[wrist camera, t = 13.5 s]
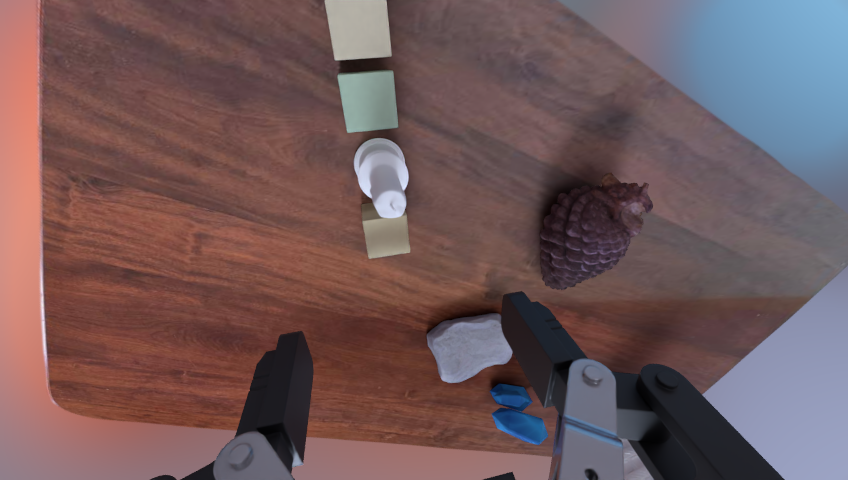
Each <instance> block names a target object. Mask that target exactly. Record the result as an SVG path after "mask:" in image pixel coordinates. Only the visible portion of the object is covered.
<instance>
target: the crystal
mask: <svg viewBox="0 0 848 480" xmlns="http://www.w3.org/2000/svg"><path fill="white" fill-rule="evenodd" d="M490 393H491V394H492V396H493V398H494V400H495V401H496V403H497V404H500V405H503V406H506V407H509V408H512V409H515V410H512V409H507V408H500V409H498V410H497V411H495V412H494V413H492V416H493V418H494V421H495V424H496V426H497V428H498V429H500V430H502V431H504V432H506V433H508V434H511V435H513V436H515V437H517V438H519V439H521V440H523V441H525V442H529V443H533V444H537V445H539V444H540V443H541V442H542V441H543V440H545V439H546V438H547V437H548V434H547V431H546V428H545V425H544V422H543V420H542V419H541V418H538V417H535V416H532V415H528V414H525V413H522V411H523V410H524V409H525V408H526V407H527V406H529V405H530V404H531V403H532V402H533V401H532V400H531V398H530V397H529V395H528V393H527V392H526V390H525V389H524V387H519V386H513V385H506V384H500V383H499V384H498V385H497V386H495V387H494V388H493V389H492V390H490ZM516 410H518V411H516ZM519 411H521V412H519Z"/></svg>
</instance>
